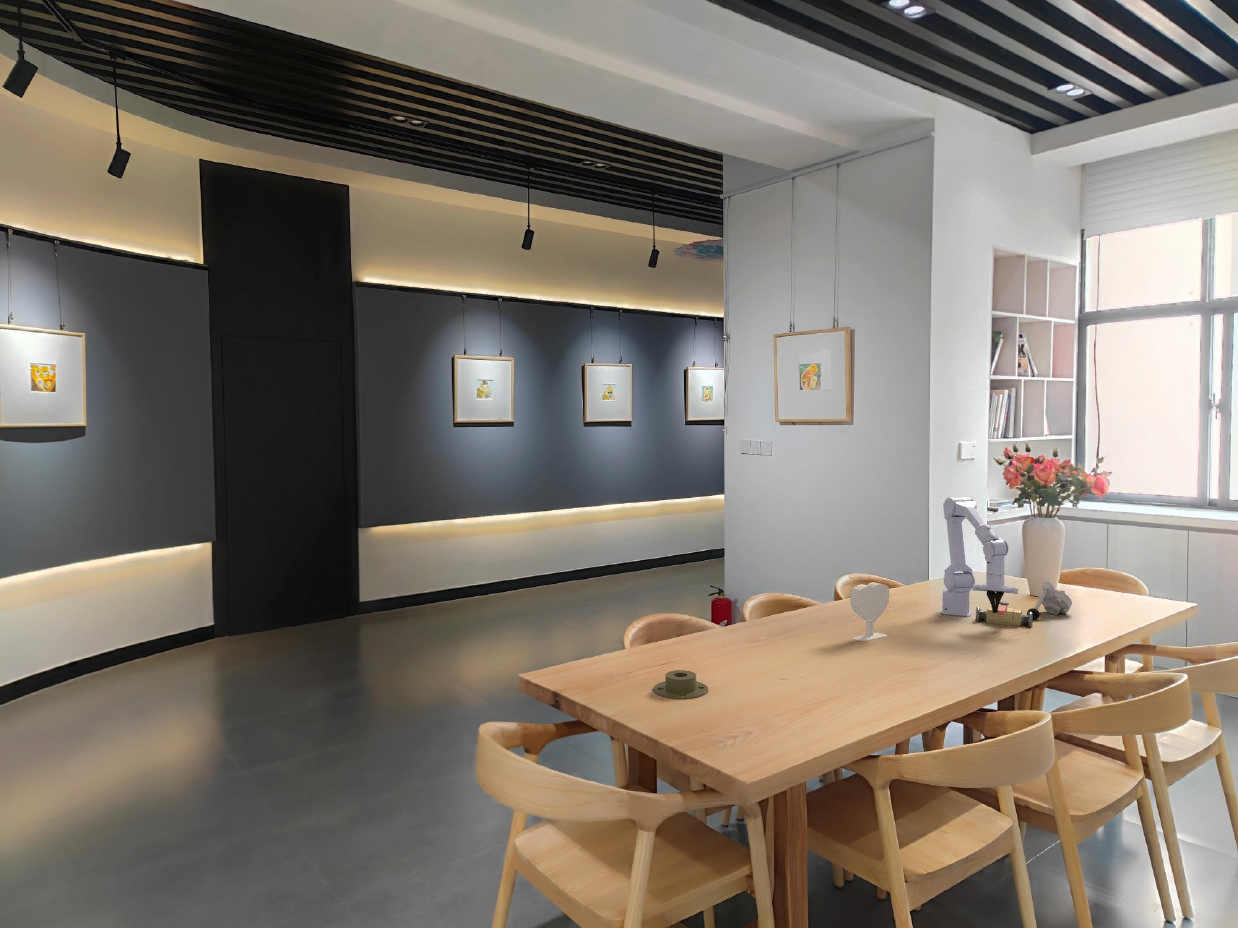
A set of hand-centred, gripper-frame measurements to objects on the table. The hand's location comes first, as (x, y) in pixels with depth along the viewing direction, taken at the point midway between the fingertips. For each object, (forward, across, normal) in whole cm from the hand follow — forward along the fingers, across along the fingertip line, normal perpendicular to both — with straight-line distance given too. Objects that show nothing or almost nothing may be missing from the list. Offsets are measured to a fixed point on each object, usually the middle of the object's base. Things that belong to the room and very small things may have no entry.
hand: (995, 612), depth 283 cm
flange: (+6, -69, -110) cm, 130 cm away
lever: (0, +2, +4) cm, 4 cm away
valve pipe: (+7, +2, +9) cm, 11 cm away
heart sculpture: (+6, -36, -31) cm, 48 cm away
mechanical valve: (+6, +15, +27) cm, 32 cm away
